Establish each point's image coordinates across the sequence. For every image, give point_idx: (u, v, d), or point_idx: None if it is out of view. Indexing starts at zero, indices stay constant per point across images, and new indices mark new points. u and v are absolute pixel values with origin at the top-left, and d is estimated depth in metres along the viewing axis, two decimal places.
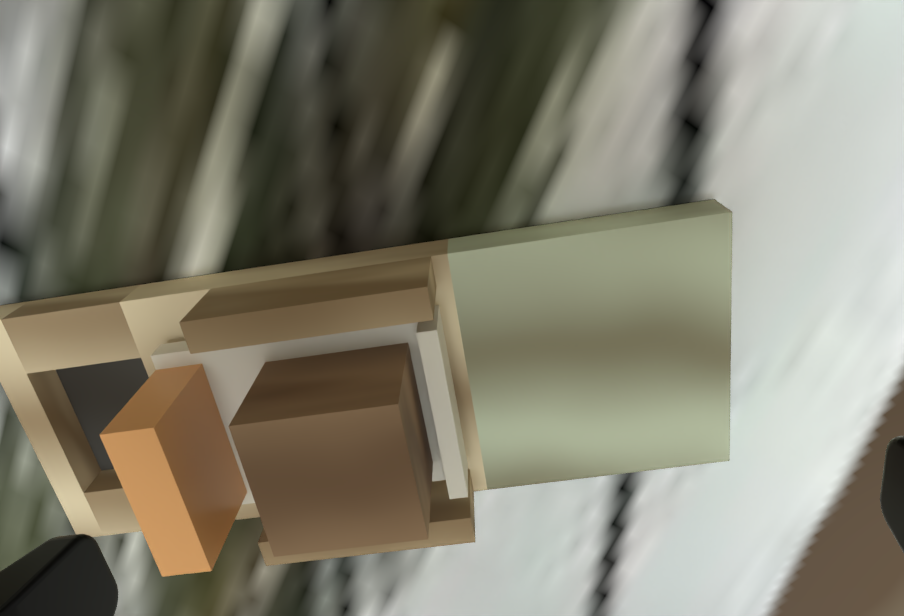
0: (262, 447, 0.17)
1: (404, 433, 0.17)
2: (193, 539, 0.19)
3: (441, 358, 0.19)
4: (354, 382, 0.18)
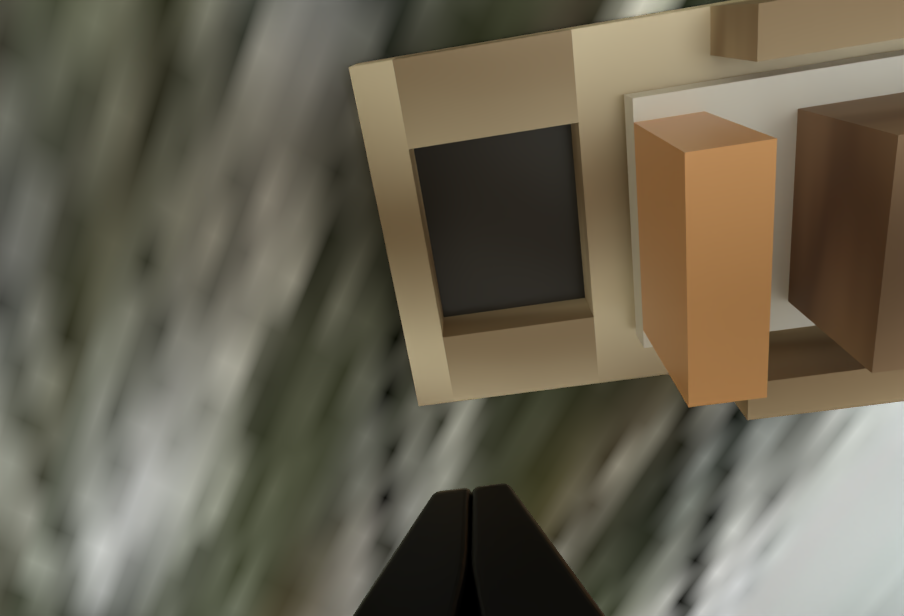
0: None
1: None
2: (760, 343, 0.12)
3: None
4: None
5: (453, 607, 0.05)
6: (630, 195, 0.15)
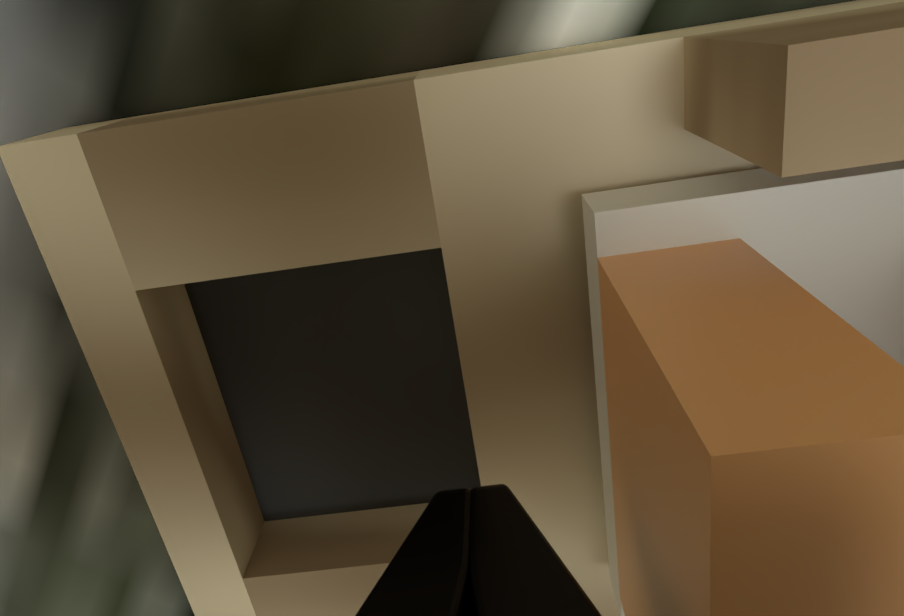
0: None
1: None
2: None
3: None
4: None
5: (456, 607, 0.05)
6: (596, 371, 0.08)
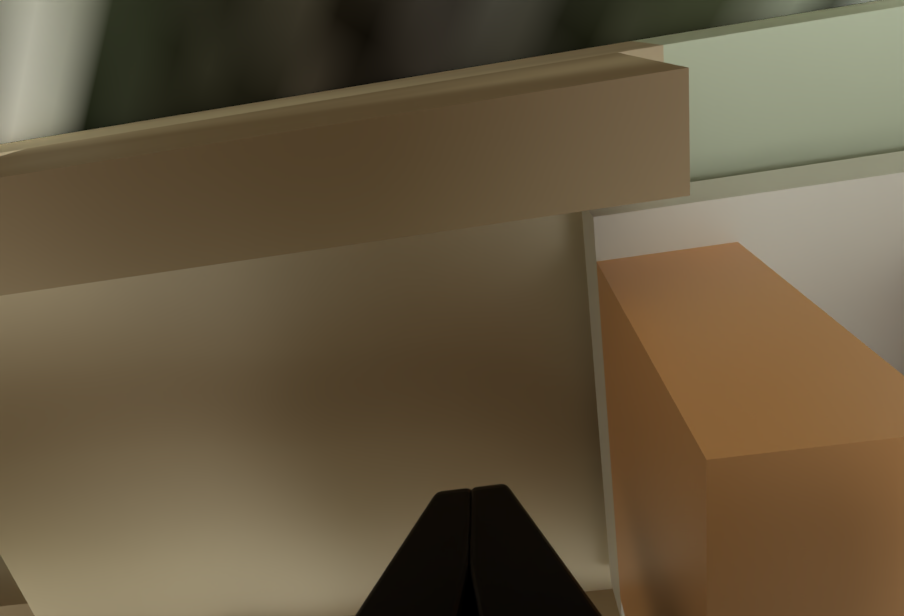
0: None
1: None
2: None
3: None
4: None
5: (455, 606, 0.05)
6: (596, 374, 0.08)
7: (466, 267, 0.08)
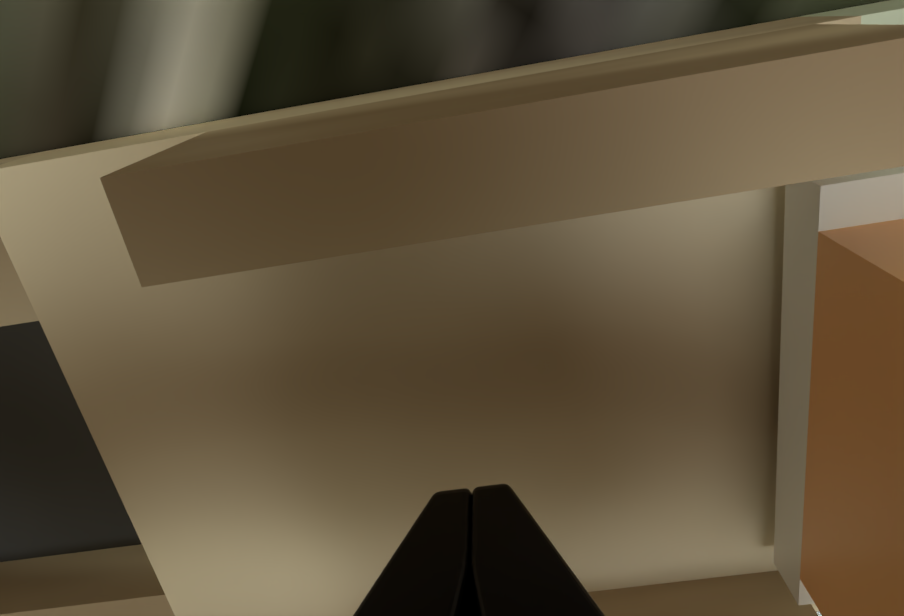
0: None
1: None
2: None
3: None
4: None
5: (453, 607, 0.05)
6: (785, 350, 0.08)
7: (640, 245, 0.08)
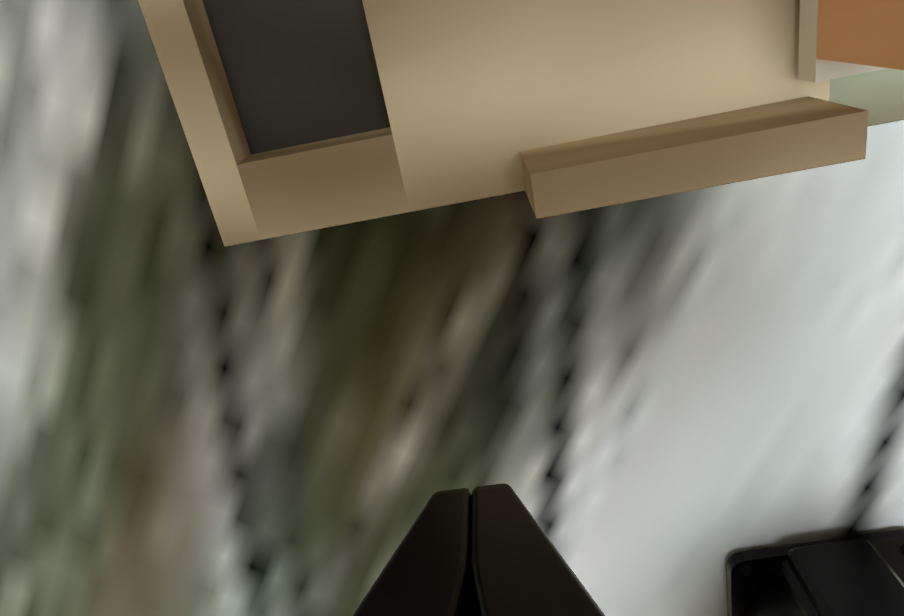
0: None
1: None
2: None
3: None
4: None
5: (453, 607, 0.05)
6: None
7: None
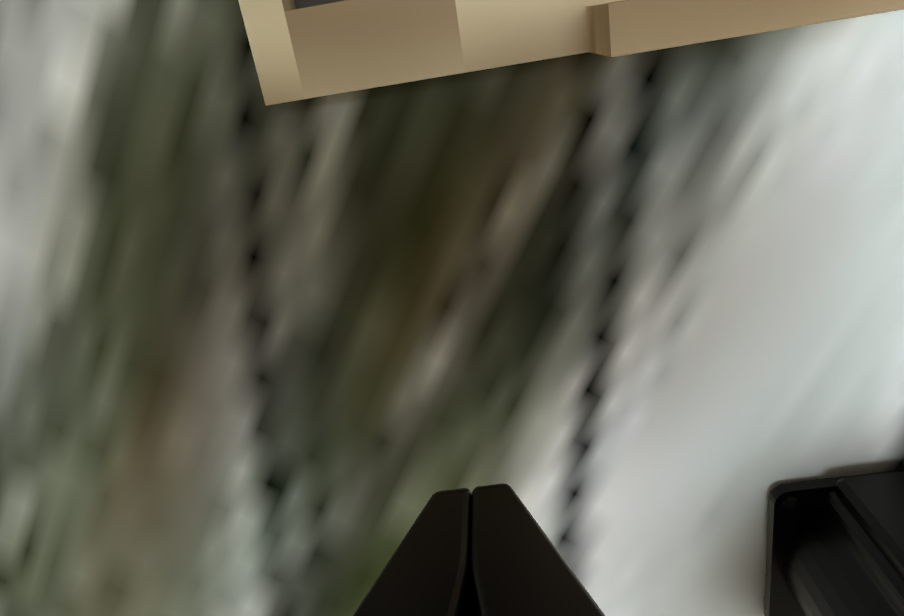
0: None
1: None
2: None
3: None
4: None
5: (453, 607, 0.05)
6: None
7: None
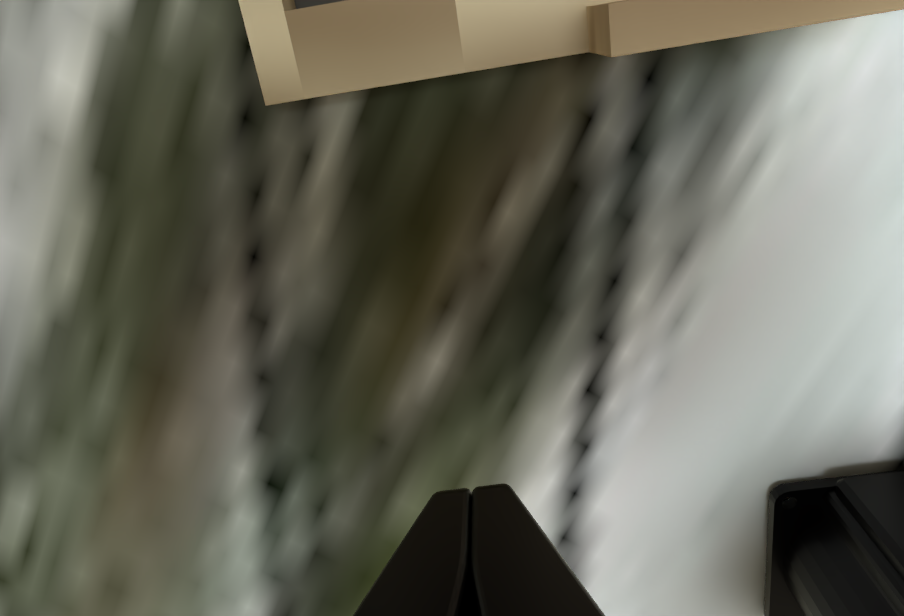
0: None
1: None
2: None
3: None
4: None
5: (453, 607, 0.05)
6: None
7: None
